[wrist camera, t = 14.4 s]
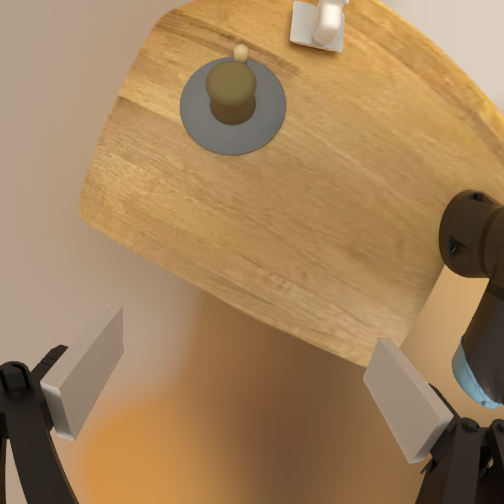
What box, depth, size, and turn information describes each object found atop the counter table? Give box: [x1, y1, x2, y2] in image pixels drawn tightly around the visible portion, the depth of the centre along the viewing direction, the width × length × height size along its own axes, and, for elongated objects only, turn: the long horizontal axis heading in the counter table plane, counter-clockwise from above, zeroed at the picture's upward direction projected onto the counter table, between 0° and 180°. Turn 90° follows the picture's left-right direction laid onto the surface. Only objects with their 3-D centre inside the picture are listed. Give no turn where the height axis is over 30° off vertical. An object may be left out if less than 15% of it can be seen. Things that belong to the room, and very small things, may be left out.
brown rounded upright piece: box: [205, 60, 257, 126], centre depth 31 cm, size 6×6×11 cm
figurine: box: [290, 0, 349, 52], centre depth 28 cm, size 7×9×15 cm
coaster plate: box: [180, 44, 286, 155], centre depth 35 cm, size 14×14×6 cm
